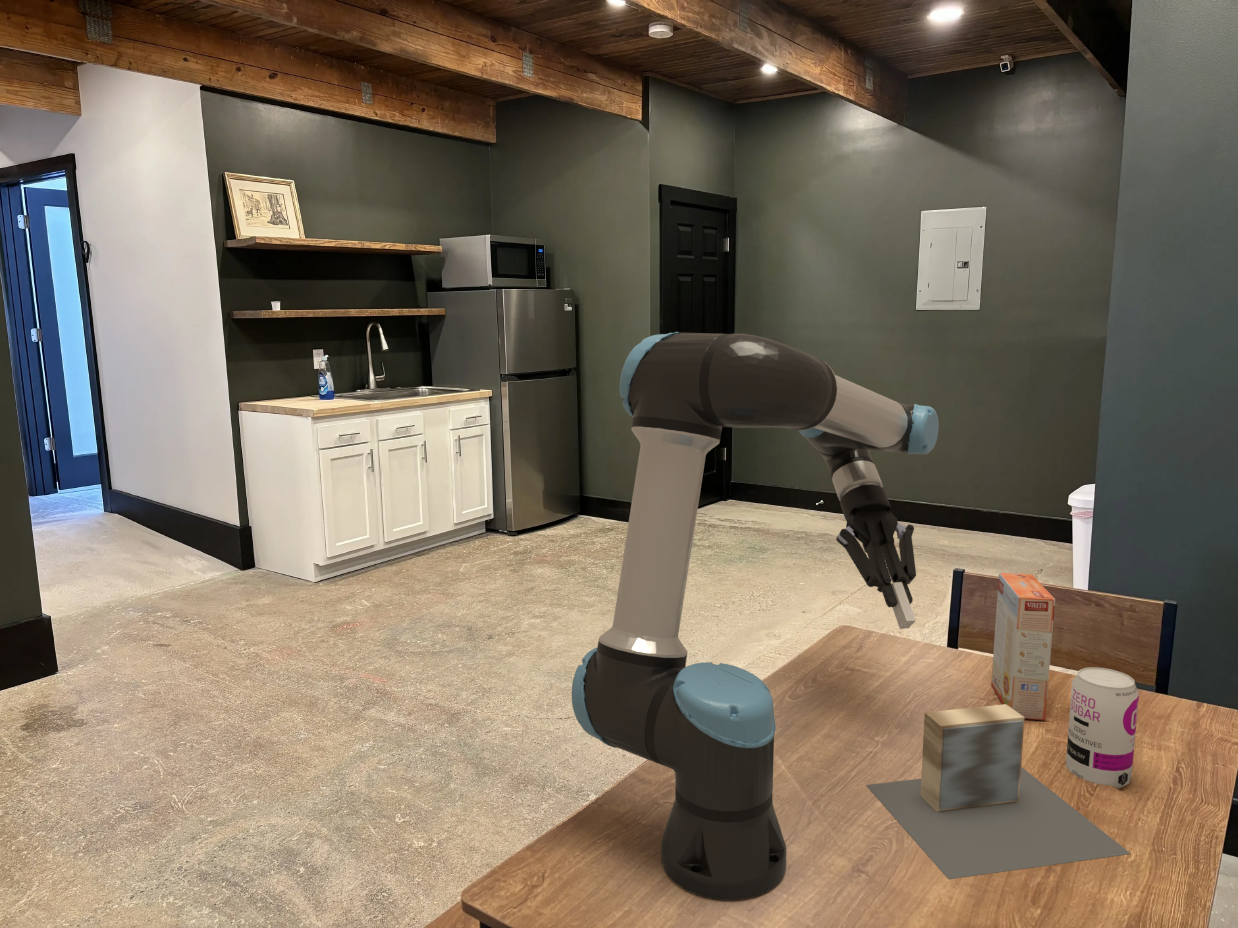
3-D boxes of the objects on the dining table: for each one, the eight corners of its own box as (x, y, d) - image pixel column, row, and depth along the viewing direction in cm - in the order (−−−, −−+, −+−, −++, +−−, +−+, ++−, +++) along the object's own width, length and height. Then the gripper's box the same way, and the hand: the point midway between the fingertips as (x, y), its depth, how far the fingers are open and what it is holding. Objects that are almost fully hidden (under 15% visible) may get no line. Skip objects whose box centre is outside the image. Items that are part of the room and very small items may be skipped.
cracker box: (1048, 722, 142) (1057, 598, 138) (1008, 719, 143) (1016, 596, 139) (1026, 686, 155) (1034, 572, 152) (990, 684, 156) (997, 571, 153)
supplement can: (1137, 775, 125) (1146, 675, 123) (1121, 798, 119) (1130, 694, 117) (1075, 756, 131) (1083, 661, 128) (1057, 777, 125) (1065, 678, 122)
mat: (948, 886, 101) (948, 878, 101) (865, 791, 122) (865, 784, 122) (1130, 860, 106) (1131, 853, 106) (1021, 773, 126) (1021, 766, 126)
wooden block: (937, 812, 115) (941, 726, 113) (920, 795, 119) (924, 712, 117) (1019, 802, 117) (1025, 717, 115) (1000, 785, 121) (1005, 704, 119)
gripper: (889, 504, 150) (937, 631, 137) (817, 509, 148) (859, 638, 135) (906, 480, 144) (957, 610, 131) (831, 484, 142) (876, 617, 128)
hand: (907, 624), depth 133 cm, fingers closed
